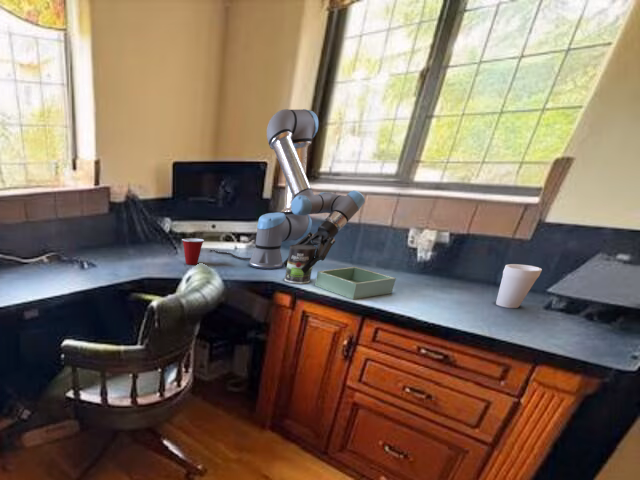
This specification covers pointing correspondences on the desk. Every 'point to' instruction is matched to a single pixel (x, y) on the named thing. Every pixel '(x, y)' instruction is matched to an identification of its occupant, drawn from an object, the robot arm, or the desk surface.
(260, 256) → the robot arm
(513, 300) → the foam cup
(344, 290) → the tray
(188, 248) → the plastic cup
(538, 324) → the desk surface
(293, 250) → the coffee can
